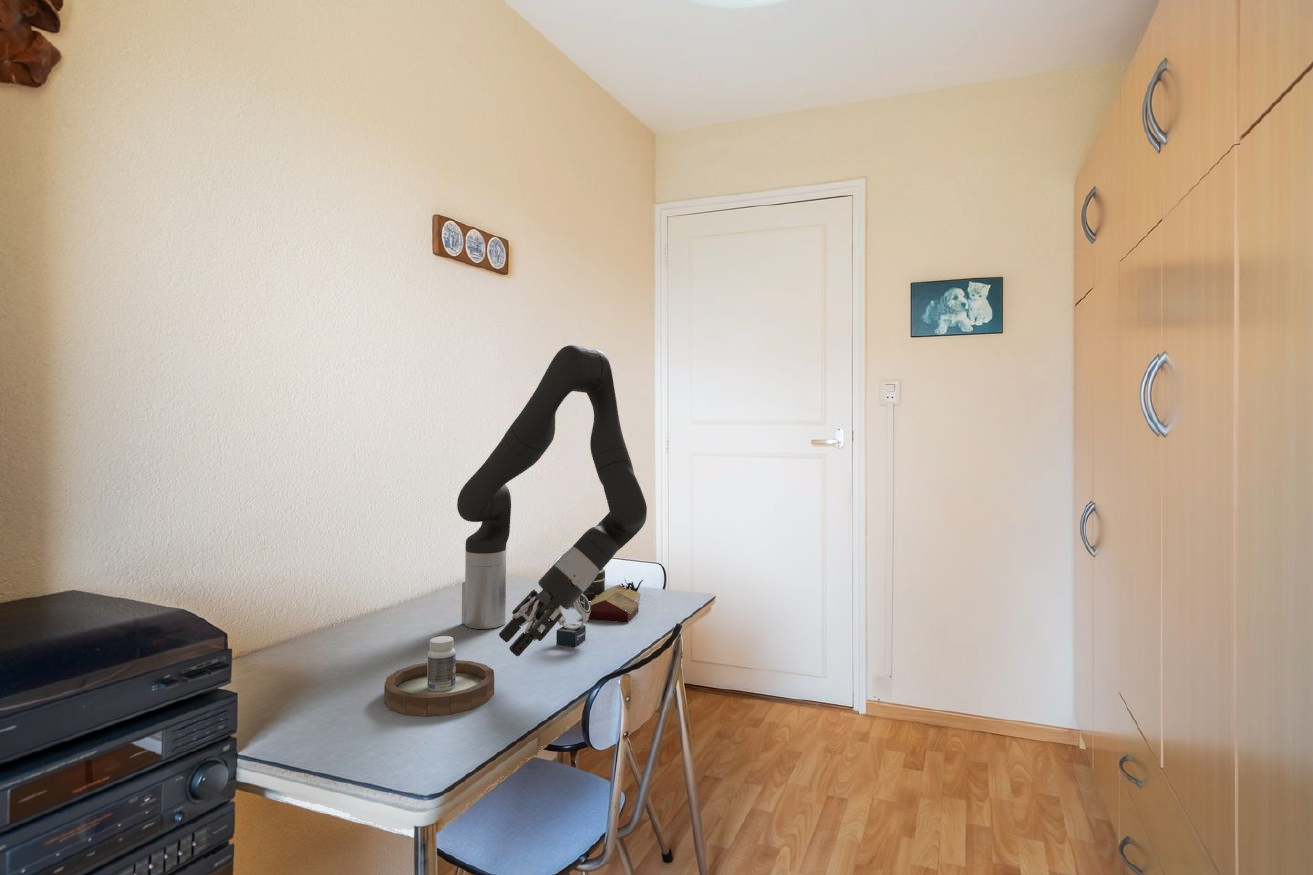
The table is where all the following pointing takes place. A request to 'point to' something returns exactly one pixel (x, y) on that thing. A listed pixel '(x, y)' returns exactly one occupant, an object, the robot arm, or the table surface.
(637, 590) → the creature
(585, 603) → the watch
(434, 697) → the ring tray
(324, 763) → the table surface
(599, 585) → the jar
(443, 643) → the pill bottle
